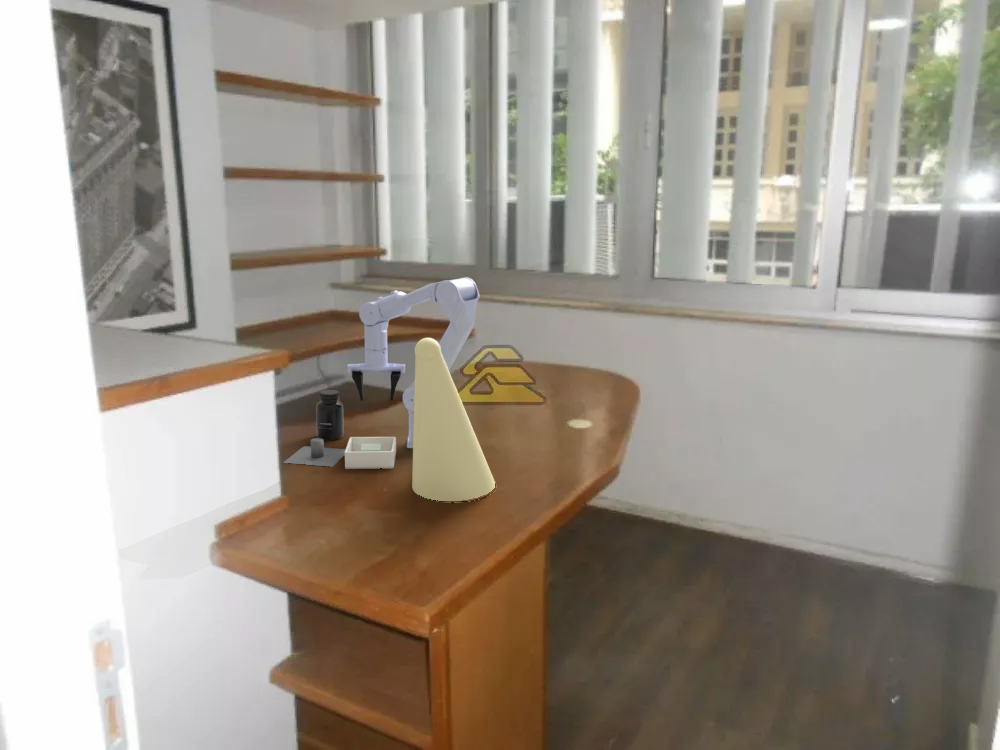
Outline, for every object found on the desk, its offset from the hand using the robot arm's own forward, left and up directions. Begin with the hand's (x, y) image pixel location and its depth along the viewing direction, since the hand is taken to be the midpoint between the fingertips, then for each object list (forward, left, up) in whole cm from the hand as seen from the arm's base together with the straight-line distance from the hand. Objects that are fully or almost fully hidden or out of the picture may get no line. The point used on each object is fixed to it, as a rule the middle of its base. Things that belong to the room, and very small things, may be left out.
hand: (377, 399), depth 196 cm
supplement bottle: (+12, +2, -10) cm, 16 cm away
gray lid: (+13, +17, -10) cm, 24 cm away
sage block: (0, +20, -9) cm, 22 cm away
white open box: (0, +20, -9) cm, 22 cm away
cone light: (-18, +39, -10) cm, 44 cm away
